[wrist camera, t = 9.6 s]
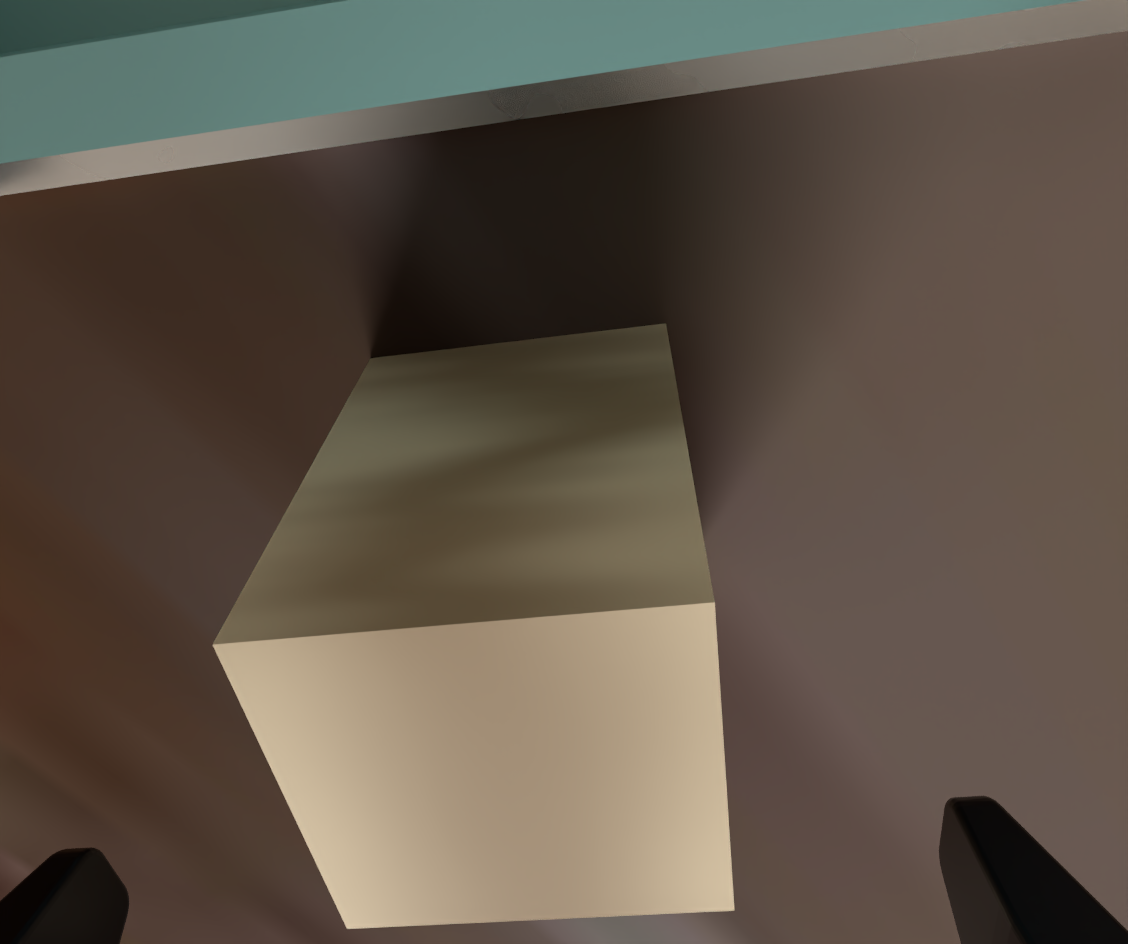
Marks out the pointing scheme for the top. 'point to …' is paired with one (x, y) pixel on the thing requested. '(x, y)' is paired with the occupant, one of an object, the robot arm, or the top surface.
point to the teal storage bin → (362, 54)
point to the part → (496, 642)
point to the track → (575, 94)
